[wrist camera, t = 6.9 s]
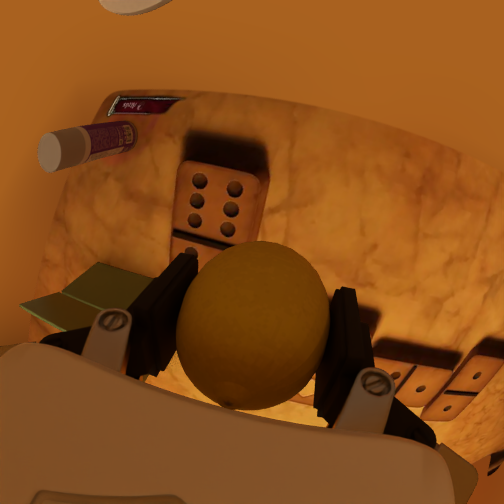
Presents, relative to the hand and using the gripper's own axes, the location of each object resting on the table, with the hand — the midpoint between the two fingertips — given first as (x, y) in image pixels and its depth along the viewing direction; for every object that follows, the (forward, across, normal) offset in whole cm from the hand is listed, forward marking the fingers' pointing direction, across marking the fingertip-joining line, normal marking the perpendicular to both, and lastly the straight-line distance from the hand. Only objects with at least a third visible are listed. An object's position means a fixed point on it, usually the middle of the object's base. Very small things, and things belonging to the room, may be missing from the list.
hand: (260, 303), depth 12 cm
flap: (+11, +26, +19) cm, 34 cm away
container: (+27, +25, -3) cm, 37 cm away
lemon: (+3, 0, 0) cm, 3 cm away
